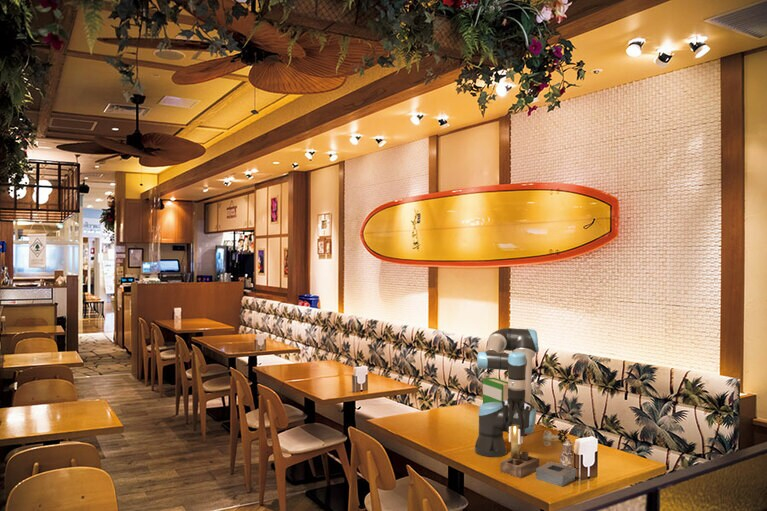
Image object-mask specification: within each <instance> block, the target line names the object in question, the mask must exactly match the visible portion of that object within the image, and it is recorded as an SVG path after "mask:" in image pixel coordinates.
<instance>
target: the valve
mask: <svg viewBox="0 0 767 511" xmlns="http://www.w3.org/2000/svg"><path fill="white" fill-rule="evenodd" d="M564 431H565V430H564V429H559V430H558V433H557V434H552V431H550V430H544V431H543V436H542V440H543V445H544V446H548V447H549V446H552V441H555V440H558V441H560V443H563V444H564V442H565V441H567V440H568V436H566V435H567V432H566V431H565V432H564Z"/></svg>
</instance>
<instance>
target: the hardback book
mask: <svg viewBox="0 0 767 511" xmlns="http://www.w3.org/2000/svg"><path fill="white" fill-rule="evenodd" d="M508 388H509V387H508V381H506V380H502V379H499V378H497V377H487V378H486V377H485V378H482V404H484V403H489V402H501V403H502V401H505V400H507V399H508ZM508 407H509V404H508Z"/></svg>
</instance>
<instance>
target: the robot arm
mask: <svg viewBox="0 0 767 511" xmlns="http://www.w3.org/2000/svg"><path fill="white" fill-rule="evenodd" d="M538 339H539V338H538V332H537V330H535V329H532V328H531V329H529V328H510V327H505V328H500V329H498V330H495V331H493V332H492V333H491V334H490V335H489V337H488V338H487V346H486V348H485V350H484V351H479V352H478V353H477V356H476V359H477V360H476V363H477V364H476V365H477V367H478V368H479V369H485V370H496V371H497V370H498V371H500V370H501V371H507V373H508V374H507V382H508V387H509V388H508V399H507V400H505V401H502V403H501V402H489V403H484V404H483V403H482V404H480V406H479V407H478V408H479V409H478V436H477V439H476V441H475V445H474V452H475V453H476V454H478V455H480V456H482V457H483V456H484V457H489V458H491V457H492V458H498V457H502V456H506V455H507V453H508V452H507V451H508V450H507V449H508V448H507V446H506V442H505V438H504V433H507V434H508V442H509V443H511V425H512V424H518V425H520V428H519V429H518V444H520V445H522V444H523V443H524V437H525V436H524V435H525V434H527V435H528V434H533V433H534V430H535V426H536V420H537V419H536V418H537V409H535V408H534V406H535V405H534V404H533V403H532V402H531V400H532V398H531V397H532V396H531V395H532V394H531V393H532V375H533V373H532V372H533V358H535V357H536V354H537V353H539V342H538V341H539V340H538ZM503 351H506V352H507V351H508V352H509V353H505V352H503ZM508 404H509V407H508ZM523 436H524V437H523Z"/></svg>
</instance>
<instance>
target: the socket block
mask: <svg viewBox="0 0 767 511" xmlns="http://www.w3.org/2000/svg"><path fill="white" fill-rule="evenodd" d="M575 476H577V467H576V468H572V467H568V466H565V465H561V464H559V463H557V462H553V461H548V462H546V463H544V464H542V465H539V467H538V468H536V471H535V479H536V480H538V481H542V482H545V483H549V484H551V485H554V486H555V485H556V486H559V487H565V486H567V485H568V484H570V483H571V482H573V481H575V480H576V479H575Z"/></svg>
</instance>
